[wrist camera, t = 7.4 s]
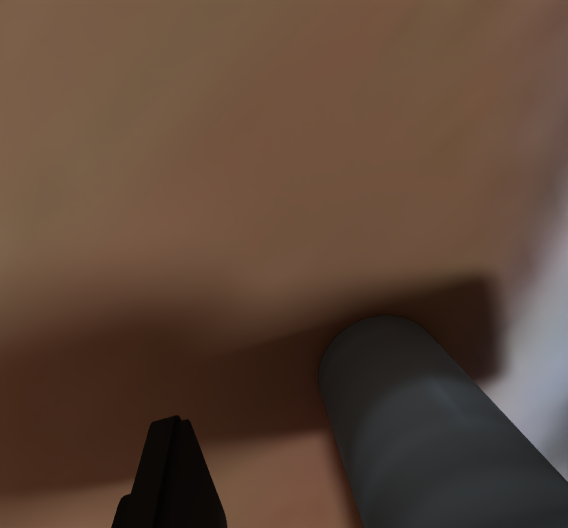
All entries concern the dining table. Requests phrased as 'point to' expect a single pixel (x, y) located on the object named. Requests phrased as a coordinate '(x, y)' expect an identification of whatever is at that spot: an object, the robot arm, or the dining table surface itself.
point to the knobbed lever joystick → (429, 437)
